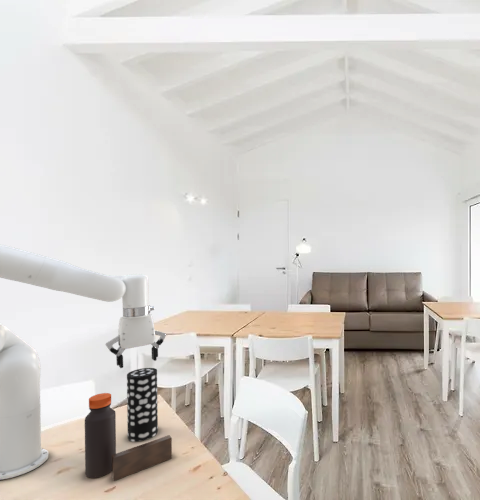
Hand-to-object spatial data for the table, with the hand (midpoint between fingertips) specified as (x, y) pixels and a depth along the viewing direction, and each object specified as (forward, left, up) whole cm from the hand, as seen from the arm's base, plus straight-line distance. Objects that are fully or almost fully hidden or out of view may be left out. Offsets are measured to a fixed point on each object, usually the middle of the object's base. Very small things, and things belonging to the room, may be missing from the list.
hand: (138, 363), depth 117 cm
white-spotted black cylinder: (0, -6, -22) cm, 22 cm away
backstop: (-5, -25, -22) cm, 33 cm away
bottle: (-13, -18, -22) cm, 31 cm away
